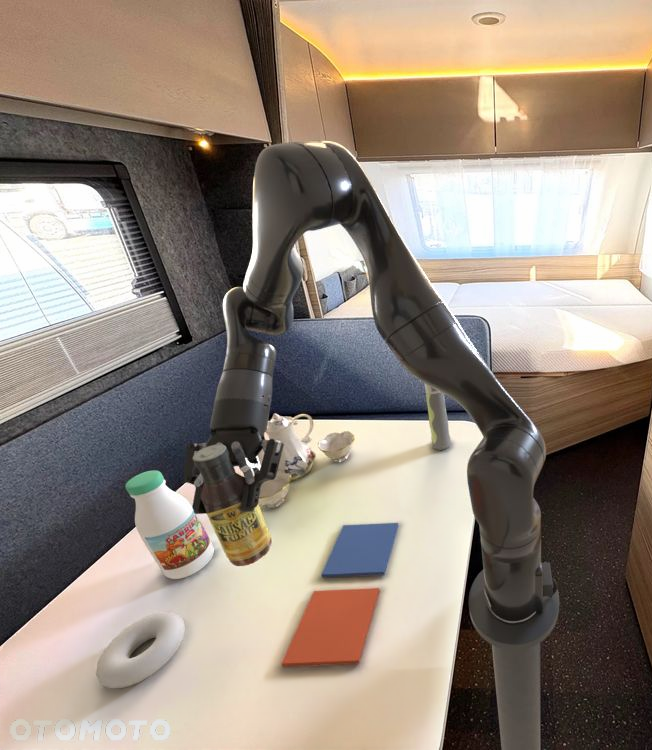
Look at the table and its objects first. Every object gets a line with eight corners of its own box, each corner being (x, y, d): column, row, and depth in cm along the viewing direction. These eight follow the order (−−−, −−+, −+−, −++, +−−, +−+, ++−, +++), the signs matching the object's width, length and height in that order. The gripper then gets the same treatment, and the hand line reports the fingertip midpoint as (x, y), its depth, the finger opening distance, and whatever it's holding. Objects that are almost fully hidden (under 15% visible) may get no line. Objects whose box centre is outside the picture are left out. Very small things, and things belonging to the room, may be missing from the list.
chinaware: (272, 531, 80) (251, 470, 72) (221, 501, 86) (196, 442, 78) (368, 453, 102) (360, 400, 94) (322, 434, 108) (311, 383, 100)
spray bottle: (445, 437, 104) (437, 371, 95) (454, 446, 101) (446, 377, 92) (429, 444, 102) (418, 376, 93) (437, 453, 98) (427, 383, 89)
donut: (93, 710, 51) (183, 666, 56) (78, 697, 50) (173, 652, 54) (115, 642, 59) (193, 608, 63) (103, 629, 58) (184, 595, 62)
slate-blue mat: (398, 525, 77) (397, 522, 77) (384, 574, 67) (383, 571, 67) (344, 528, 77) (343, 525, 77) (322, 577, 68) (321, 574, 67)
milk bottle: (154, 582, 68) (97, 496, 60) (184, 546, 75) (138, 464, 67) (197, 579, 68) (147, 493, 60) (224, 543, 75) (182, 462, 67)
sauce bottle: (230, 576, 59) (173, 475, 50) (230, 548, 63) (178, 451, 55) (278, 554, 62) (232, 455, 53) (274, 529, 67) (231, 434, 58)
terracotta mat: (379, 591, 65) (379, 588, 64) (359, 663, 55) (358, 660, 55) (314, 593, 65) (313, 590, 64) (282, 666, 55) (281, 663, 55)
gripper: (180, 398, 58) (153, 515, 53) (274, 393, 58) (256, 510, 53) (216, 410, 66) (195, 514, 60) (299, 406, 65) (286, 510, 60)
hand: (224, 512), depth 57 cm, fingers closed on sauce bottle, 6 cm apart
